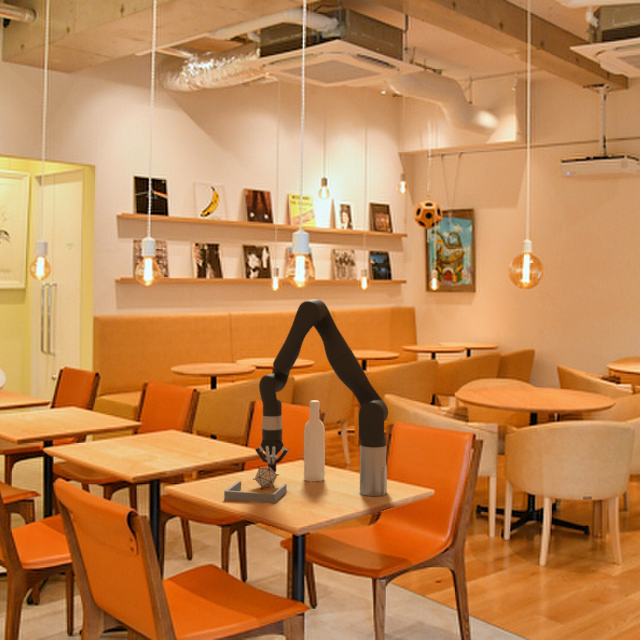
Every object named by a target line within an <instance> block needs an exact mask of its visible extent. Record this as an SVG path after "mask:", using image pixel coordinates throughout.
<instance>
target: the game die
mask: <svg viewBox="0 0 640 640" xmlns="http://www.w3.org/2000/svg"><path fill="white" fill-rule="evenodd" d="M278 476H280V474H277V473H276V472H274V471H273V470H272V468H271V465H270V467H268V466H264V467H260V466H257V472H256V474H255V477H254V478H252V480H253V481H256V483H258V485H259V486H260V490H263V488H268V487H272V488H273V489H275V486H274V484H275V482H276V480H277V477H278Z"/></svg>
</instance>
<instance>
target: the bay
mask: <svg viewBox="0 0 640 640" xmlns="http://www.w3.org/2000/svg"><path fill="white" fill-rule="evenodd" d="M287 487H288V486H287V483H283V484H282V485H281V486H279V488H278V489H276V490H275V491H274V492H273V493H271V492H269V493H268V492H256V491H254V492H253V491H240V490H242V480H238V481H236V482H235V483H233V484H232V485H230V486H229V487H228V488H227V489H226V490H224V493H223V494H224V499H223V501H234V502H235V501H236V502H249V501H253V503H264V504H265V503H267V504H275V503H276V504H277V502H278V501H279V500H280V499H281V498H282V497H283V496H284V495H285V494H286V493H287Z"/></svg>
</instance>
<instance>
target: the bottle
mask: <svg viewBox="0 0 640 640" xmlns="http://www.w3.org/2000/svg"><path fill="white" fill-rule="evenodd" d="M320 407H321V404H320V401H319V400H316V399H315V400H314V399H313V400H310V401H309V420H307V422H305V425H304V429H303V431H304V433H303V446H304V447H303V449H304V450H303V480H304V479H305V480H307V481H306V482H309V481H320V482H323V481H325V476H326V471H325V468H326V467H325V464H326V463H325V461H326V460H325V459H326V458H325V457H326V456H325V455H326V453H325V451H326V449H325V447H326V446H325V445H326V443H325V441H326V440H325V439H326V435H325V434H326V431H325V430H326V428H325V425H324V423H323V421H322V420H321V419H320ZM305 480H304V481H305ZM322 480H323V481H322Z"/></svg>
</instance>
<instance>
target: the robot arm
mask: <svg viewBox="0 0 640 640" xmlns="http://www.w3.org/2000/svg"><path fill="white" fill-rule="evenodd" d="M313 327H314V329H315V330H316V332H317V333H318V335H319V336H320V339H321V340H322V341H321V342H322V343H323V348H324V352H325V356H326V359H327V361H328V363H329V365H330V367H331V369H332V370H333V372H334V373H335V375H336V376H337V377H338V379H339V380H340V381H341V382H342V383H343V384H344V385H345V386H346V387H347V388H348V389H349V390H350V391H351V393H352V394H353V395H354V397H355V399H356V400H357V402H358V404H359V406H360V408H359V411H358V437H359V493H360V495H362V496H367V497H378V496H381V497H382V496H383V497H385V495H386V494H387V491H388V484H387V483H388V466H387V437H386V436H385V421H386V420H387V418H388V415H389V410H388V409H389V408H388V406H387V404H386V403H385V401H384V400H383V398H382V397H381V396H380V395H379V393H378V392H377V390H376V389H375V388H374V386H373V385H372V384H371V382H370V380H369V379H368V377H367V376H368V375H366V373H365V371H364V369H363V367H362V366H361V364H360V363H359V361H358V358H357V357H356V355H355V354H354V352H353V350H352V349H351V348H350V346H349V343H347V341H346V340H345V338H344V336H343V335H342V333H341V331H340V330H339V328H338V326H337V325H336V322H335V321H334V319H333V315H332V314H331V312H330V310H329V308H328V305H327V304H326V303H325V302H324V301H322V300H321V299H317V298H313V299H312V298H311V299H307V300H304V301H302V303H300V304H299V306H298V307H297V311H296V313H295V316H294V320H293V322H292V325H291V327H290V330H289V332H288V334H287V336H286V338H285V341H284V343H283V345H282V346H281V348H280V349H279V351H278V353H277V355H276V357H275V359H274V361H273V363H272V368H274V370H273V371H272V373H269V374H264V375H263V376H262V377H261V378H260V380H259V384H258V387H259V388H258V389H259V394H260V398H261V402H262V420H261V443H260V446H258V447H257V448H255V452H256V454H257V455H258V456H259V458H260V459H261V460H262V462H263V463H267V467H270V465H271V468H272V470H273V471H274V472H275V473H276V472H277V464H279V463H281V462H282V460H283V459H284V458H285V457H286V455H287V454H288V453H289V451H290V450H289V448H286V447H285V446H284V442H283V416H282V414H283V413H282V412H283V411H282V409H283V408H282V401H281V400H280V399H278V398H277V393H279V392H281V391H282V390H283V389H284V388H285V387H286V386H287V382H288V380H289V377H290V373H291V370H292V369H293V367H294V365H295V363H296V361H297V359H298V358H299V355H300V353H301V350H302V345H303V342H304V340H305V338H306V336H307V334H308V333H309V332H310V330H311V329H313ZM279 453H281V454H280V455H279V457H278V454H279Z"/></svg>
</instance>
